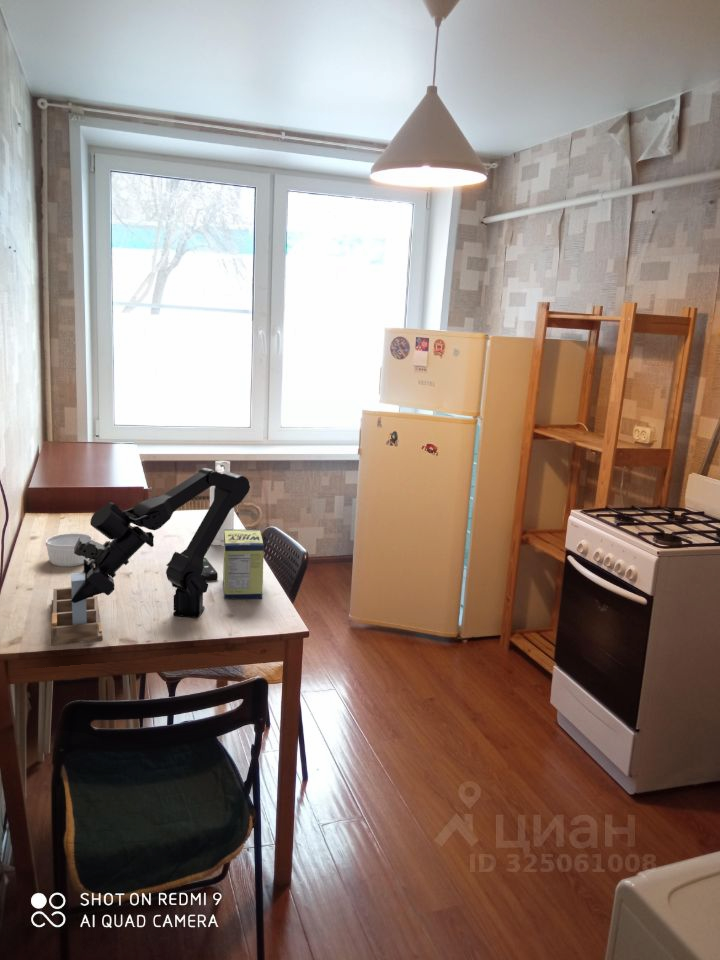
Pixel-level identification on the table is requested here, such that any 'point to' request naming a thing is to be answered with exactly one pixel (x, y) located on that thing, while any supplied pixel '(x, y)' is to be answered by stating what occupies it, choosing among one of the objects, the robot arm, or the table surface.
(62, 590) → the rack
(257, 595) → the protein box
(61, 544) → the ramekin
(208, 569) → the disk drive
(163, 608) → the table surface
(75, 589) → the blanking panel
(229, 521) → the bottle
